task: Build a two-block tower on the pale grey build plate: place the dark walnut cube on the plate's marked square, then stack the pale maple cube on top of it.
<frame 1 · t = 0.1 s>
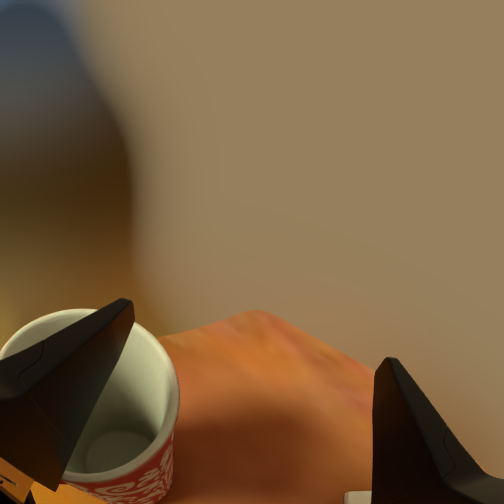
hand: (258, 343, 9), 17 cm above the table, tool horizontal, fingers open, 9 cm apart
mug: (109, 474, 16), on the table
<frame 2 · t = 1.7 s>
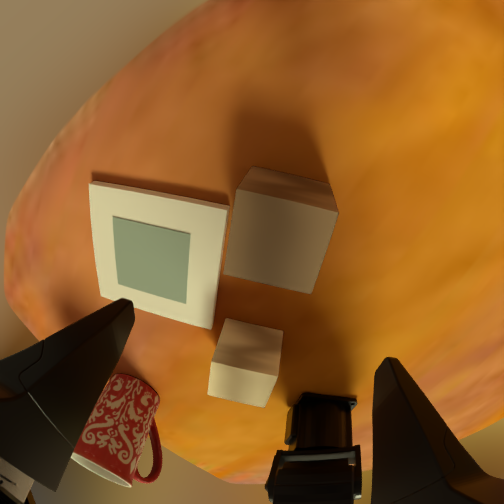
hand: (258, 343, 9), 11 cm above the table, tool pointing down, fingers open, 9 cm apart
walnut cube: (283, 209, 19), on the table
build plate: (153, 256, 23), on the table
mug: (144, 396, 35), on the table
maple cube: (249, 342, 26), on the table
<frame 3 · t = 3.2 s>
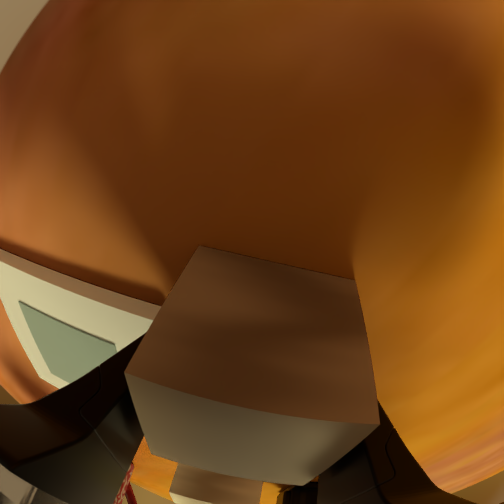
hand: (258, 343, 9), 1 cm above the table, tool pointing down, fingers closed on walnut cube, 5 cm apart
walnut cube: (262, 321, 10), on the table, touching gripper
build plate: (82, 351, 14), on the table
mug: (117, 457, 26), on the table
maple cube: (226, 446, 17), on the table
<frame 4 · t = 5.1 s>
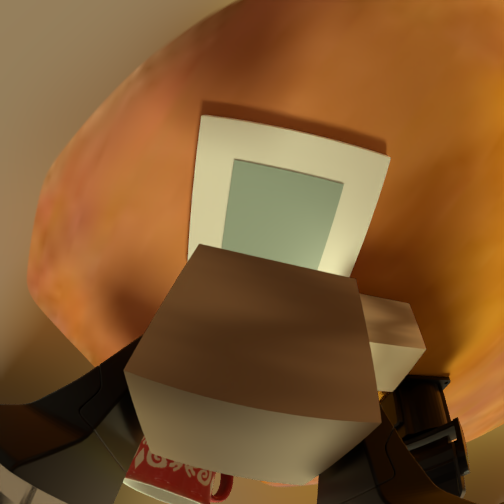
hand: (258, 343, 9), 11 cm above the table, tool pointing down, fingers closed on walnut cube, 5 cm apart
walnut cube: (263, 320, 10), point 10 cm above the table, touching gripper
build plate: (279, 215, 19), on the table
mug: (208, 399, 31), on the table
maple cube: (369, 321, 22), on the table
when the fingers open (3 cm above the table, at t = 6.8 s): walnut cube drops 1 cm, resting on build plate.
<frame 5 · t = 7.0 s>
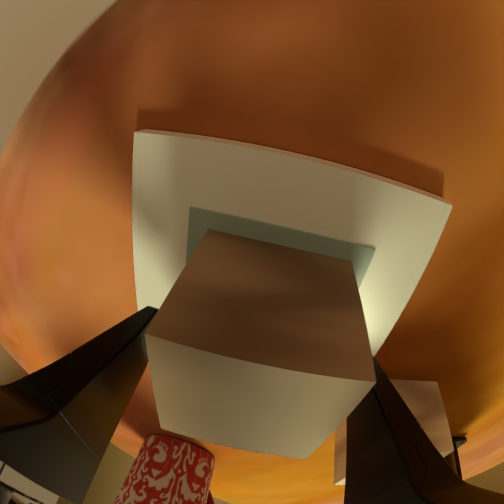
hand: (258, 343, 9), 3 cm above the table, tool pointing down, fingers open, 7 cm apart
walnut cube: (266, 301, 11), point 1 cm above the table, touching build plate
build plate: (268, 288, 12), on the table
mug: (191, 455, 25), on the table
maple cube: (385, 401, 15), on the table
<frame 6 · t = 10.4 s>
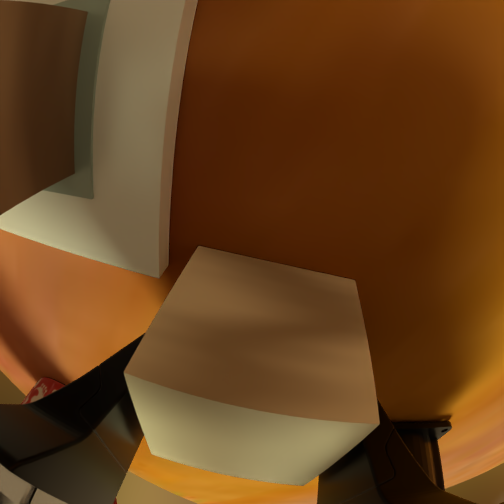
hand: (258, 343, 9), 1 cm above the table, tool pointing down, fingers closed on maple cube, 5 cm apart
walnut cube: (25, 97, 6), point 1 cm above the table, touching build plate
build plate: (43, 95, 7), on the table
mug: (89, 414, 20), on the table
maple cube: (262, 321, 10), on the table, touching gripper
when the fingers open (8 cm above the table, at t = 13.5 s): maple cube drops 1 cm, resting on walnut cube.
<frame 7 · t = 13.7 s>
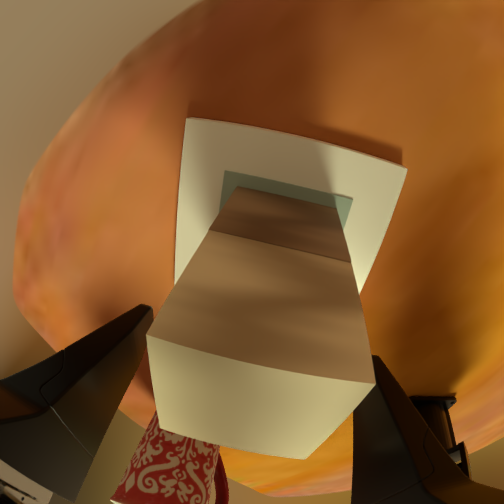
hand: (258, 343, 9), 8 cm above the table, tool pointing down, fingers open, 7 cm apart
walnut cube: (276, 241, 15), point 1 cm above the table, touching build plate, maple cube
build plate: (277, 234, 16), on the table
mug: (202, 418, 29), on the table
maple cube: (266, 302, 11), point 6 cm above the table, touching walnut cube
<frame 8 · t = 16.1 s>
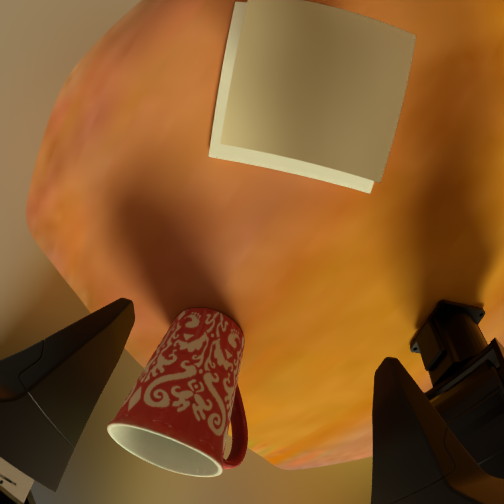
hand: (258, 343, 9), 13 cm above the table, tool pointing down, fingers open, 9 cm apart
build plate: (307, 91, 16), on the table
mug: (218, 344, 29), on the table
maple cube: (312, 88, 11), point 6 cm above the table, touching walnut cube
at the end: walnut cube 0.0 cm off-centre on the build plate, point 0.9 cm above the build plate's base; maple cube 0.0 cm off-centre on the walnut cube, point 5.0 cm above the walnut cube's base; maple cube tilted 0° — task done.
